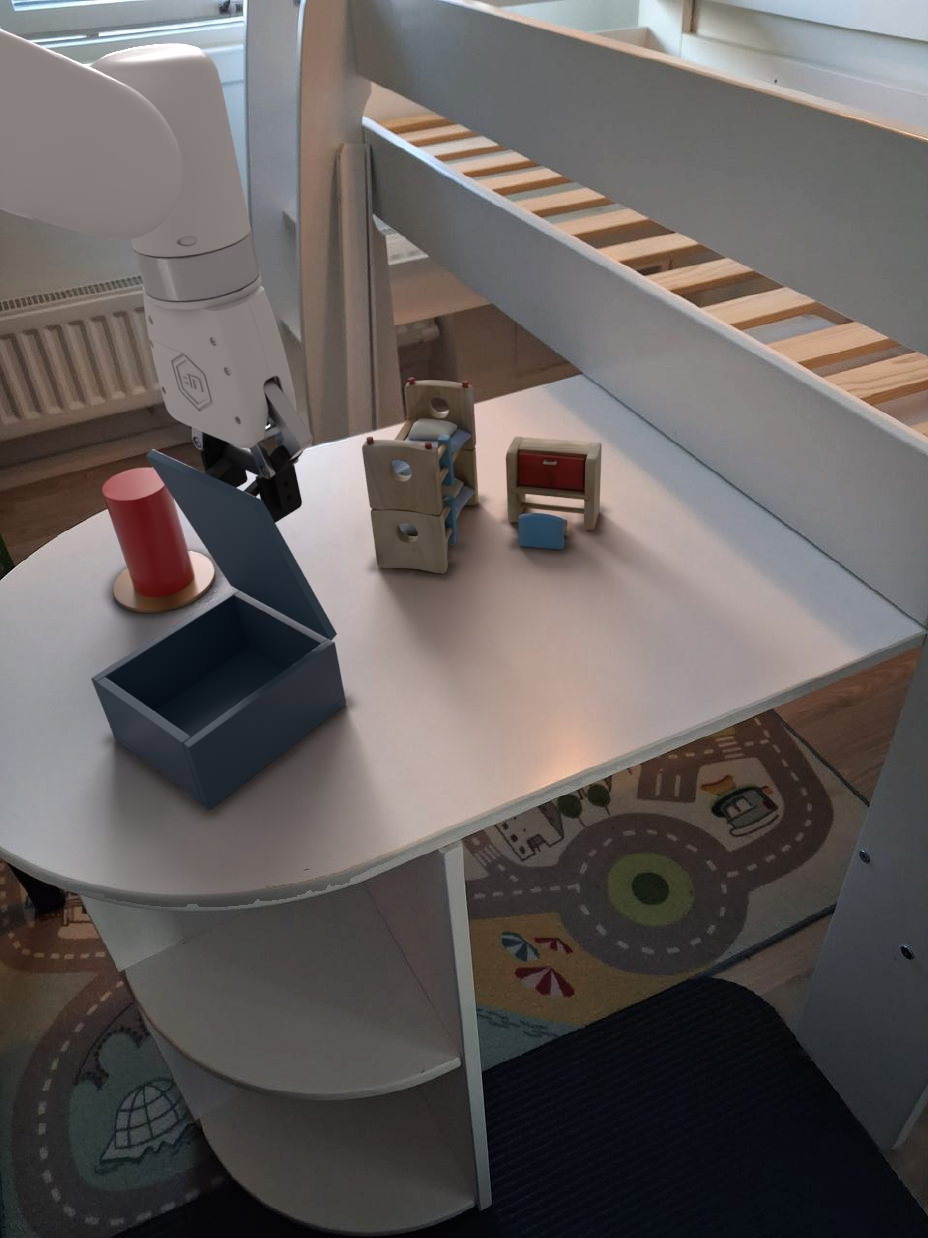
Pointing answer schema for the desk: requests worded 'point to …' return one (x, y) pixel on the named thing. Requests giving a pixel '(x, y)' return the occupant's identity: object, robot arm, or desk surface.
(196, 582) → the coaster
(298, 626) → the blue rectangular box
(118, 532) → the can
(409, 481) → the dollhouse furniture set
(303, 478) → the desk surface
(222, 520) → the lid
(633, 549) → the desk surface
